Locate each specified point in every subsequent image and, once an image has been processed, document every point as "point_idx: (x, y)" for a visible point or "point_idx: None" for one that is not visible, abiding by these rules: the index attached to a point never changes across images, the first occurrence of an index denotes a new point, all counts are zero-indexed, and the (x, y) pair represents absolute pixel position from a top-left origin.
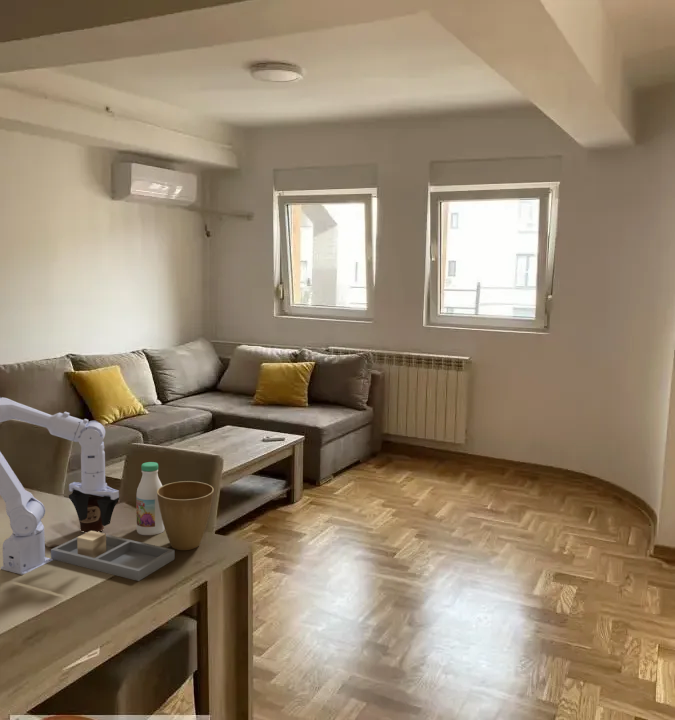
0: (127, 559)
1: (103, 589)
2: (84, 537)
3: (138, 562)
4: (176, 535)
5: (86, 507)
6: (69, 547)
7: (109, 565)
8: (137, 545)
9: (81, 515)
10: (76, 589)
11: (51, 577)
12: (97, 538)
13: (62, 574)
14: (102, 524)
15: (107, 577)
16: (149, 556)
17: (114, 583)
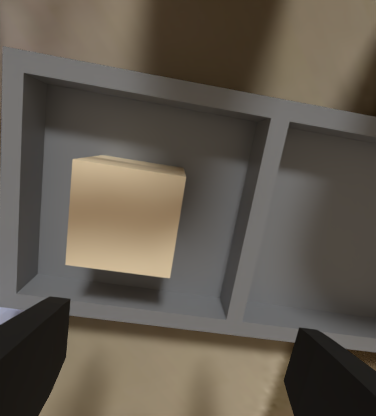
0: (300, 205)
1: None
2: (104, 256)
3: (352, 216)
4: None
5: (6, 369)
6: (30, 217)
7: None
8: (327, 129)
9: (44, 386)
10: (240, 410)
11: (120, 376)
12: (175, 241)
13: (139, 351)
14: (289, 391)
15: None
16: (374, 154)
17: None
